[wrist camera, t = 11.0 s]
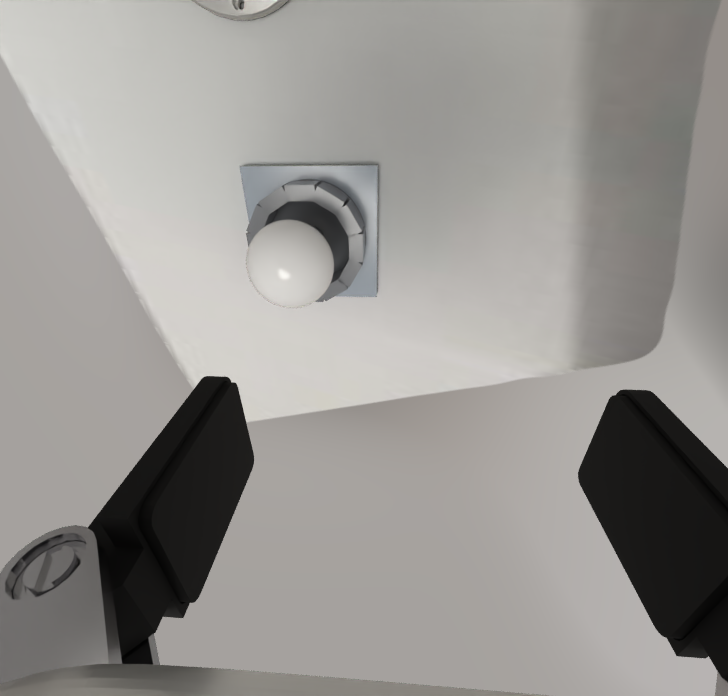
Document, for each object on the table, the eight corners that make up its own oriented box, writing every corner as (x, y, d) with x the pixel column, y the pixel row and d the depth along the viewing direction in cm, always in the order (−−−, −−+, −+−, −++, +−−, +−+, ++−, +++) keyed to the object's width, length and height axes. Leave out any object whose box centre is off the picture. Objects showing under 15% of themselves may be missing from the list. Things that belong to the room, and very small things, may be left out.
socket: (243, 165, 33) (222, 170, 28) (377, 164, 32) (375, 169, 28) (264, 291, 39) (248, 310, 35) (376, 293, 38) (375, 313, 34)
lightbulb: (283, 271, 36) (243, 323, 26) (272, 202, 32) (221, 233, 23) (348, 270, 35) (331, 322, 26) (343, 199, 32) (321, 229, 22)
